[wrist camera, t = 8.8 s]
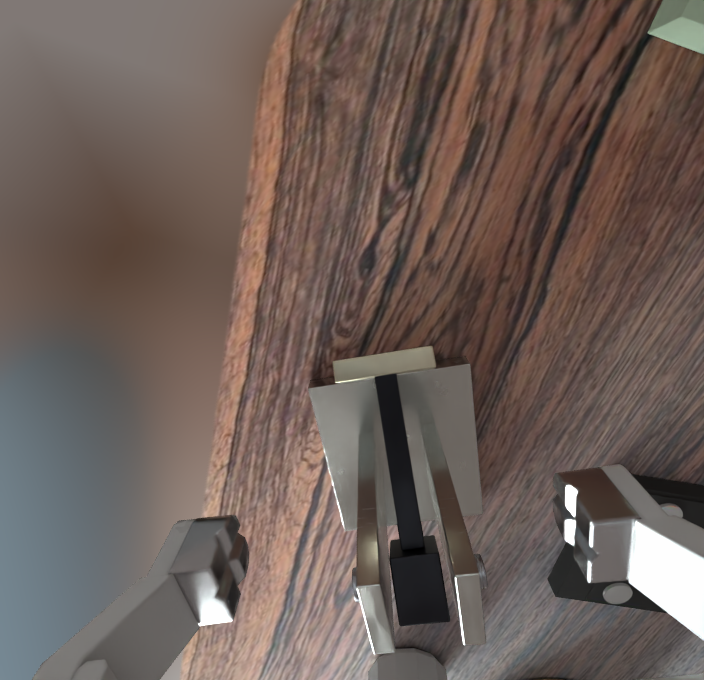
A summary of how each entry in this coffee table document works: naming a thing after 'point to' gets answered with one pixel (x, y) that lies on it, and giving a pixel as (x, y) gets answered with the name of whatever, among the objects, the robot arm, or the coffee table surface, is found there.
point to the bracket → (429, 476)
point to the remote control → (571, 583)
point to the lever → (403, 487)
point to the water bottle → (407, 666)
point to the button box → (680, 23)
